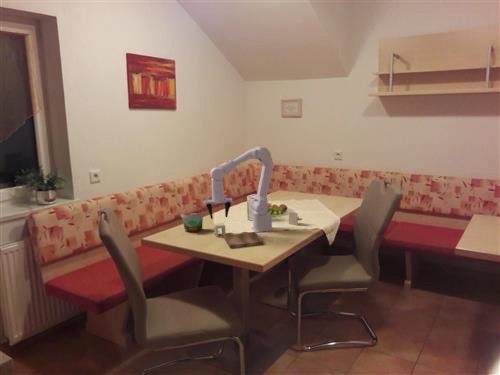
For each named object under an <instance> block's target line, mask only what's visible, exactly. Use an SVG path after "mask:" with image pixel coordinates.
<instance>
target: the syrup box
mask: <svg viewBox="0 0 500 375" xmlns="http://www.w3.org/2000/svg"><path fill="white" fill-rule="evenodd" d="M256 195H257V193H253V194H250V195H247V196H246V201H247V202H246V203H247V204H246V205H247V206H246V207H247V208H246V210H247V221H251V222H253V212H254V210H253V209H252V202H253V201H254V199H255V196H256Z"/></svg>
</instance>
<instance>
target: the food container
mask: <svg viewBox="0 0 500 375" xmlns="http://www.w3.org/2000/svg"><path fill="white" fill-rule="evenodd" d="M204 216H205V214H204V212H203V211H202V212H191V213H187V214H185V213H181V216H180V218H182V223H183V228H184V232H186V233H188V234H189V233H190V234H191V233H195V234H196V233H199V232H202V231H203V221H204V220H203V218H204Z"/></svg>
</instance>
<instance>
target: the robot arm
mask: <svg viewBox="0 0 500 375" xmlns="http://www.w3.org/2000/svg"><path fill="white" fill-rule="evenodd" d="M271 153H272V152H271V151H270V150H269V149H268V148H267V147H265V146H264V147H263V146H260V145H257V146H254V147H252V148H250V149H249V150H246V151H245V152H244V153H242V154H241V155H239V156H237V157H236V158H234V159H226V160H224V161H225V162H223V163H221V164H219V165H217V166H216V167H213V168H211V170H210V172H209V176H210V177H211V180H210V181H211V196H212V197H211V199H208V200H203V205H204V206H206V209H207V210H208V213H209V215H210V216H209V218H210V219H211V220H212V219H213V218H214V216H213V206H212V205H218V204H224V212H225V213H224V216H225V218H228V214H229V210H230V209H231V206H232V204H233V203H234V200H233V198H224V196H225V195H224V181H223V179H224V177H225V176H227V175H228V174H231V173H232V172H233V171H235V170H236V168H237V166H239V165H240V164H242V163H245V162H247V161H249V160H258V161H259V162H260V163H261V165H262V167H261V168H262V169H261V173H260V178H259V182H258V186H257V192H256V194H257V195H256V196H255V199H254V201H253V202H252V209H253V210H254V212H253V221H252V222H253V226H252V227H251V229H252V232H255V233H262V232H269V231H270V232H271V231H273V219H272V214H271V212H268V211H269V207H268V206H269V205H268V203H269V202H268V197H267V196H268V193H269V192H268V191H269V187H270V183H271V177H272V172H273V168H274V162H273V158H272V155H271Z"/></svg>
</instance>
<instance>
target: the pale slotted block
mask: <svg viewBox="0 0 500 375" xmlns="http://www.w3.org/2000/svg"><path fill="white" fill-rule="evenodd" d="M219 229H221V230H220V231H221V234H222V236H223V237H224V235H227V234H226V225H225V223H224V222H221V223H213V231H214V236H215V237H216V238H219Z"/></svg>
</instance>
